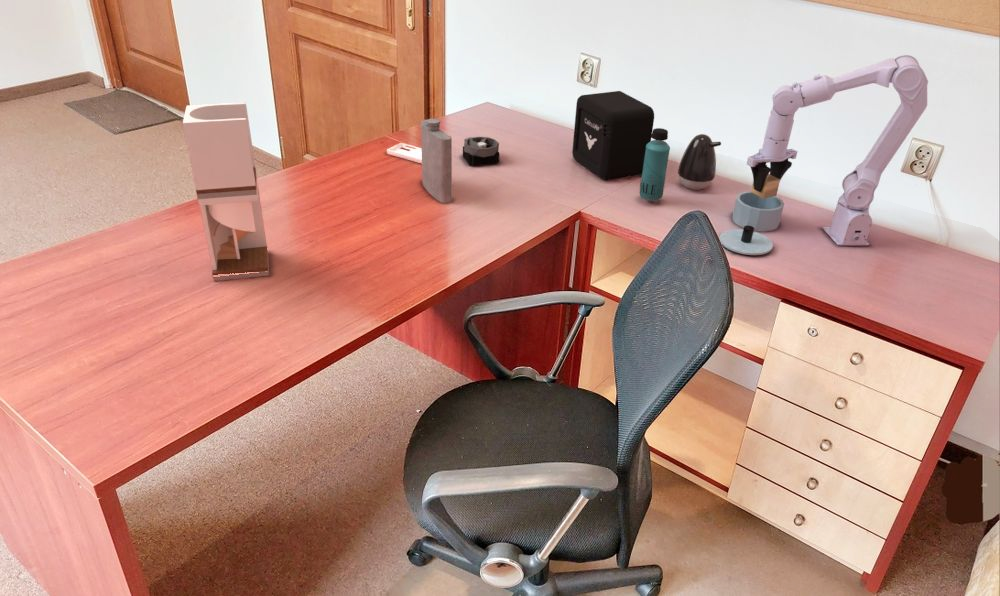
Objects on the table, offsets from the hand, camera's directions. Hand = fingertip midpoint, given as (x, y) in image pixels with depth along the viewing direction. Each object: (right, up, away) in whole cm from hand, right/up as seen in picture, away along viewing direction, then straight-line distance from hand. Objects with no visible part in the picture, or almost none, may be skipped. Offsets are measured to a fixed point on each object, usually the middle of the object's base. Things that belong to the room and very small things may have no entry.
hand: (764, 188), depth 191 cm
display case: (-124, -21, -23) cm, 128 cm away
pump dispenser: (-12, +4, +24) cm, 27 cm away
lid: (-7, -14, -6) cm, 17 cm away
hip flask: (-84, +1, +15) cm, 86 cm away
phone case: (-93, +15, +36) cm, 101 cm away
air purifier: (-35, +11, +33) cm, 50 cm away
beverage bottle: (-26, -1, +14) cm, 30 cm away
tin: (-1, -8, +5) cm, 9 cm away
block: (0, -1, +1) cm, 1 cm away
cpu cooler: (-72, +13, +35) cm, 82 cm away
